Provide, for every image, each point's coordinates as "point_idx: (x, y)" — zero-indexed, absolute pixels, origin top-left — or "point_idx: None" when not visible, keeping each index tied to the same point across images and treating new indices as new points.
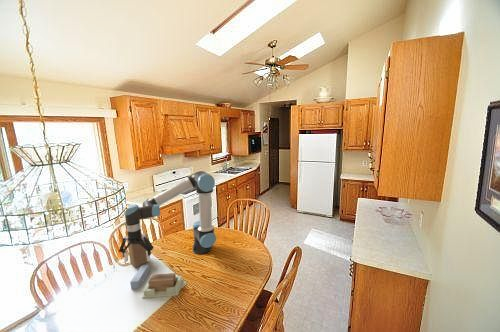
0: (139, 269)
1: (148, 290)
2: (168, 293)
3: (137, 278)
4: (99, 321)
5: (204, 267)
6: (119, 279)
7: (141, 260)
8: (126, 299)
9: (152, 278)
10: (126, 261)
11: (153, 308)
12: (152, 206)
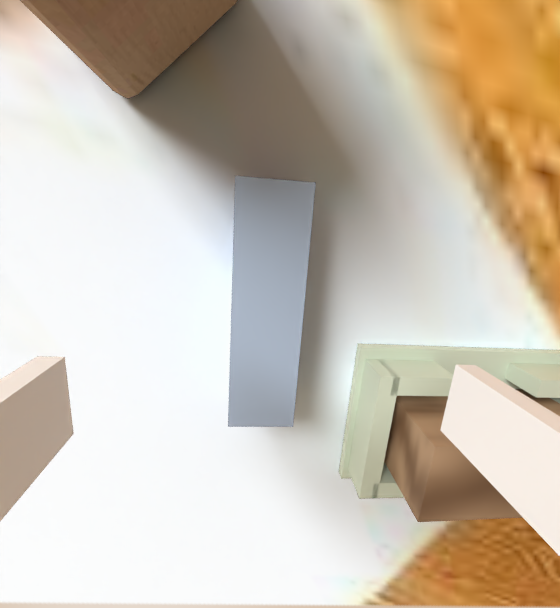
0: (240, 258)
1: (392, 495)
2: None
3: (275, 392)
4: (170, 580)
5: None
6: (67, 269)
7: (174, 20)
8: (243, 470)
9: (445, 491)
10: (64, 428)
11: (414, 531)
12: None
